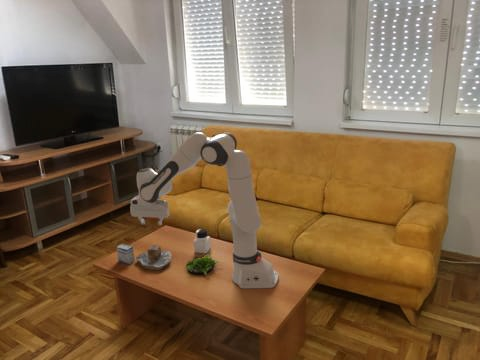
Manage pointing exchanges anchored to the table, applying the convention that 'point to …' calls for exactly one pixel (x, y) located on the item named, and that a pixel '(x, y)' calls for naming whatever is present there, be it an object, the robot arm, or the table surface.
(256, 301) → the table surface
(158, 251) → the walnut block
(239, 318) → the table surface
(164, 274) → the table surface
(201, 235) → the medicine bottle
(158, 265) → the brain slice
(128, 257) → the medicine box
